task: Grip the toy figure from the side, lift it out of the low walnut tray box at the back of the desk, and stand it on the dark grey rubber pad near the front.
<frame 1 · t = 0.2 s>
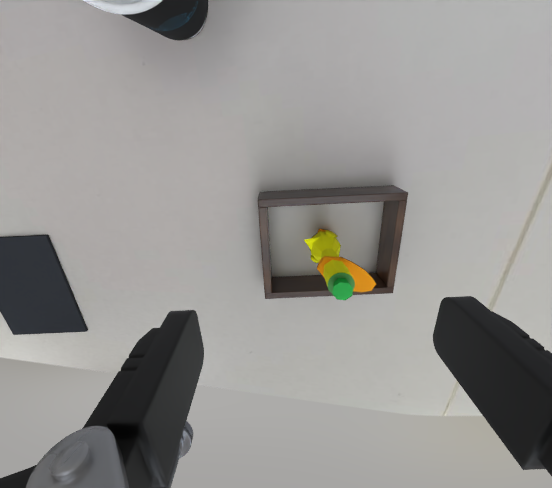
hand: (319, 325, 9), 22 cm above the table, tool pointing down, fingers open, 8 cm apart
dixie cup: (179, 6, 23), on the table
tray box: (324, 237, 31), on the table
rubber pad: (30, 288, 34), on the table
toy figure: (324, 237, 31), resting in tray box
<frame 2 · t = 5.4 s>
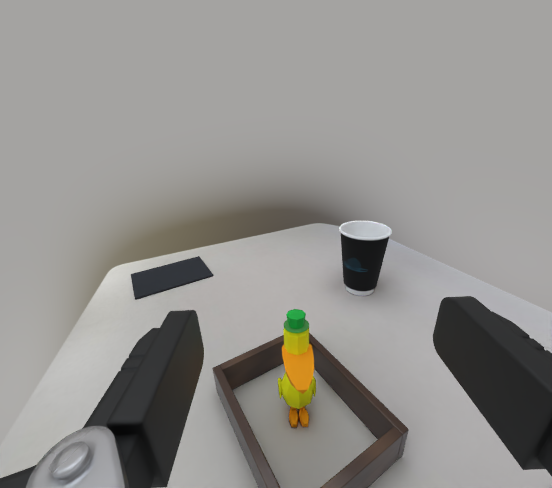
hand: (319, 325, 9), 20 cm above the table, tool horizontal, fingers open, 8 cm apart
dixie cup: (359, 288, 46), on the table
tray box: (298, 419, 26), on the table
rubber pad: (171, 275, 53), on the table
toy figure: (298, 420, 26), resting in tray box
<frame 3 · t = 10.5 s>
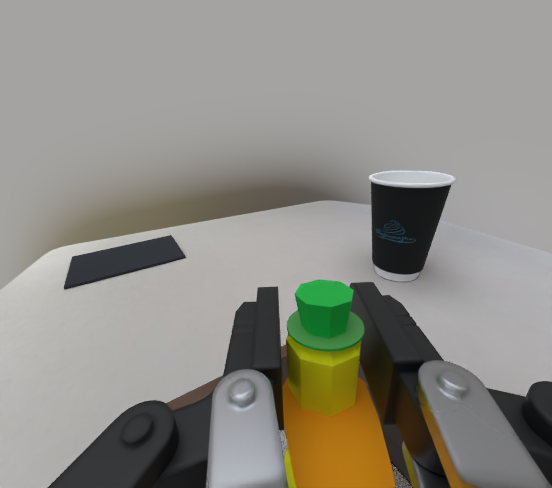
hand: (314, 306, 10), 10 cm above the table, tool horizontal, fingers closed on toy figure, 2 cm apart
dixie cup: (395, 272, 31), on the table
rubber pad: (128, 258, 38), on the table
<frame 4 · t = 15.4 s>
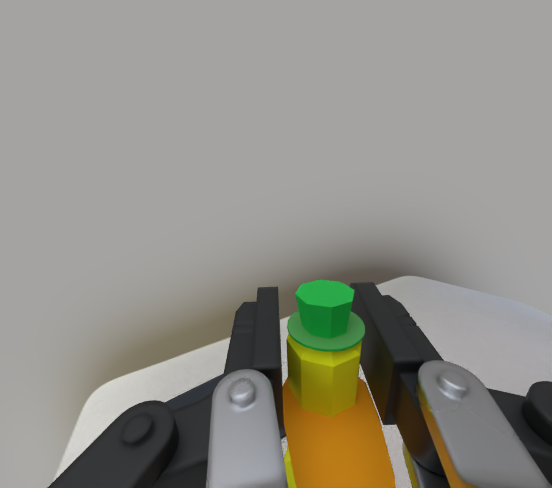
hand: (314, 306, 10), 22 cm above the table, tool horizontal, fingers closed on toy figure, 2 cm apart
rubber pad: (205, 428, 27), on the table
when the fingers open (10 cm above the table, at t = 20.7 s): toy figure stays where it is, resting on rubber pad.
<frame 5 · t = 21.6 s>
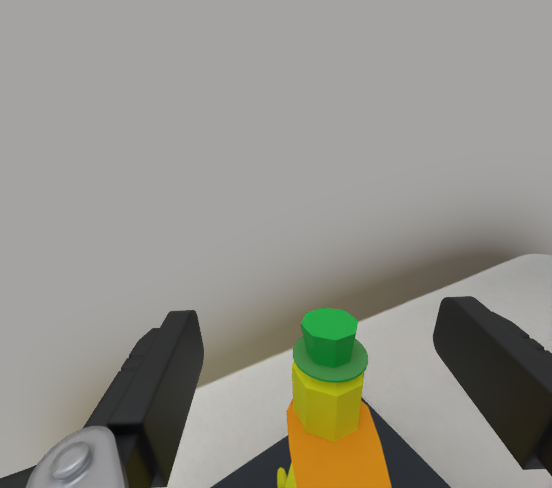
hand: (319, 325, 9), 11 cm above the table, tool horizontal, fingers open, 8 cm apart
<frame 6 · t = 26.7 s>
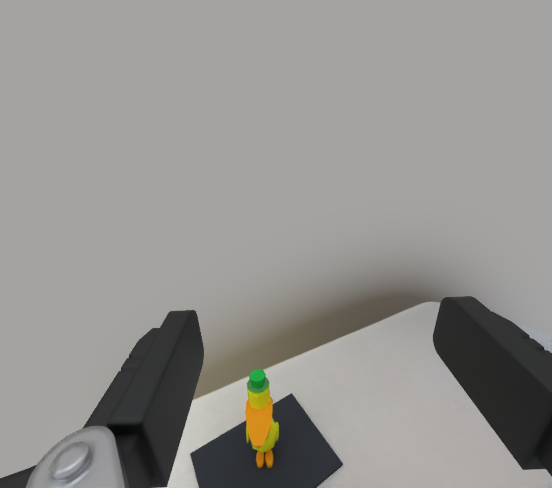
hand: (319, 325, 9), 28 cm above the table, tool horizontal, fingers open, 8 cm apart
rubber pad: (264, 459, 30), on the table
toy figure: (264, 460, 30), resting on rubber pad
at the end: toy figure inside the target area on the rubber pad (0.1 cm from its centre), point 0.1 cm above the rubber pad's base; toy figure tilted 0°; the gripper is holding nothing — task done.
